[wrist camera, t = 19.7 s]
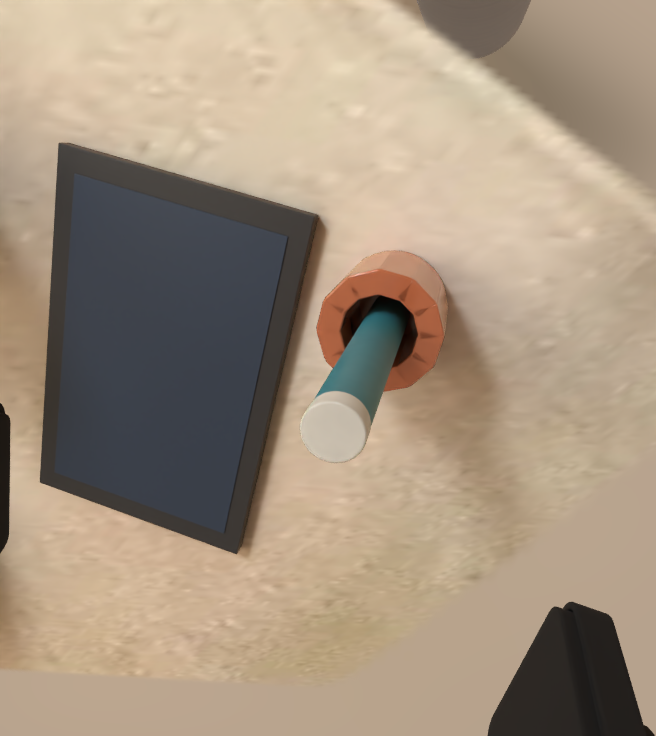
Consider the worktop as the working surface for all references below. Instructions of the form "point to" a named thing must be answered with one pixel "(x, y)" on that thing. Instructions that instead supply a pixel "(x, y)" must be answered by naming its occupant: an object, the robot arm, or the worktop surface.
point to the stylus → (355, 385)
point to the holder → (397, 281)
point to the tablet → (166, 341)
